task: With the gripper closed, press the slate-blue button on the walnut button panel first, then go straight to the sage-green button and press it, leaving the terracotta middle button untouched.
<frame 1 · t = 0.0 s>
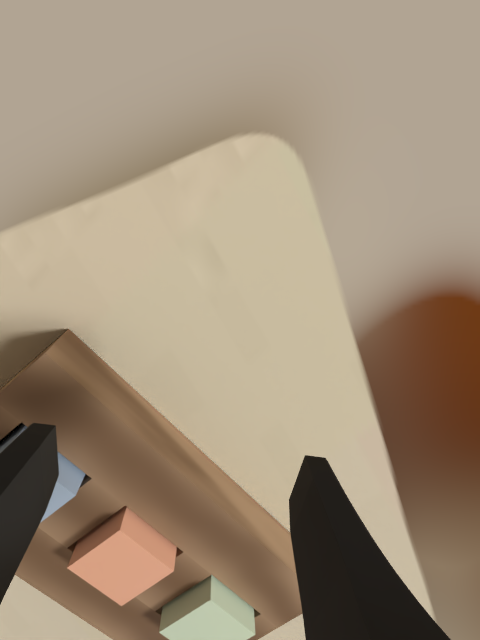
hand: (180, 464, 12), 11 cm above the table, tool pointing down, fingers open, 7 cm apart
button panel: (136, 508, 26), on the table
slate button: (27, 475, 21), point 3 cm above the table, slide at 0.0 cm
sage button: (208, 612, 25), point 3 cm above the table, slide at 0.0 cm
terracotta button: (125, 550, 23), point 3 cm above the table, slide at 0.0 cm
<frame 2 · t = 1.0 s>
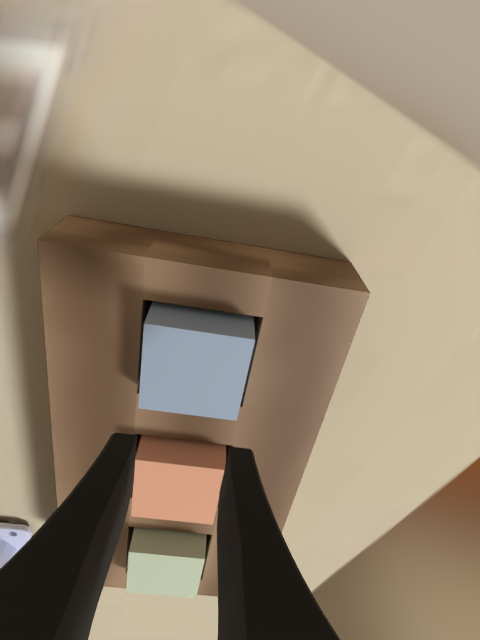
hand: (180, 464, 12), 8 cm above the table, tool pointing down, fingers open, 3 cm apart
button panel: (186, 428, 23), on the table
slate button: (196, 357, 17), point 3 cm above the table, slide at 0.0 cm
sage button: (167, 554, 24), point 3 cm above the table, slide at 0.0 cm
terracotta button: (179, 472, 20), point 3 cm above the table, slide at 0.0 cm
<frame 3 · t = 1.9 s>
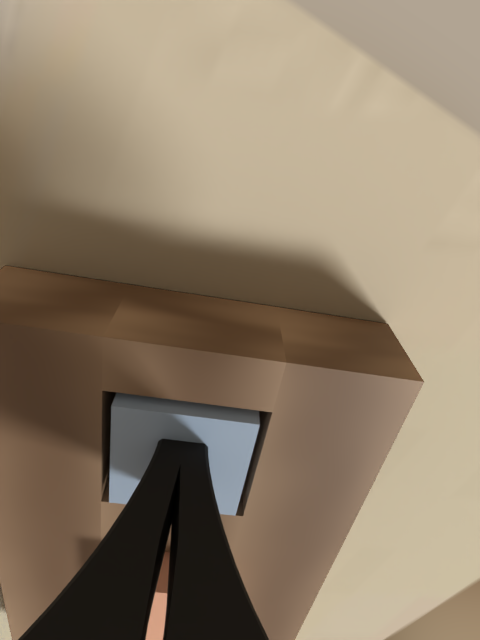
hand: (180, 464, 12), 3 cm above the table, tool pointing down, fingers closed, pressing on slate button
button panel: (172, 514, 18), on the table
slate button: (184, 435, 13), point 2 cm above the table, slide at 1.0 cm, touching gripper
terracotta button: (161, 586, 16), point 3 cm above the table, slide at 0.0 cm
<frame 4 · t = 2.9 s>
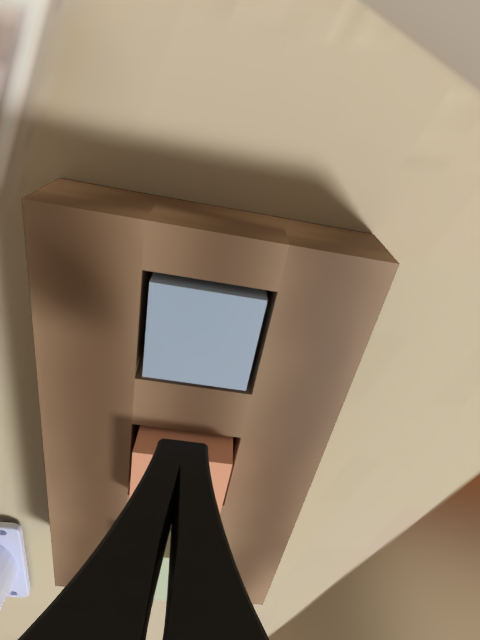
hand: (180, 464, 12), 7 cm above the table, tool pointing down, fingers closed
button panel: (188, 419, 21), on the table
slate button: (203, 323, 16), point 2 cm above the table, slide at 1.0 cm
sage button: (167, 556, 22), point 3 cm above the table, slide at 0.0 cm
terracotta button: (181, 467, 18), point 3 cm above the table, slide at 0.0 cm
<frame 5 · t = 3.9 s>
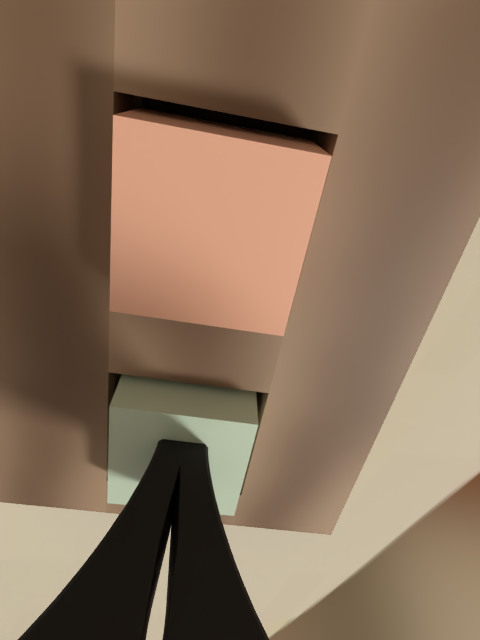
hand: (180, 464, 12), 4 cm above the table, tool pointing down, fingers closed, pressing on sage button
button panel: (217, 193, 12), on the table
sage button: (182, 436, 13), point 3 cm above the table, slide at 0.2 cm, touching gripper
terracotta button: (212, 223, 9), point 3 cm above the table, slide at 0.0 cm
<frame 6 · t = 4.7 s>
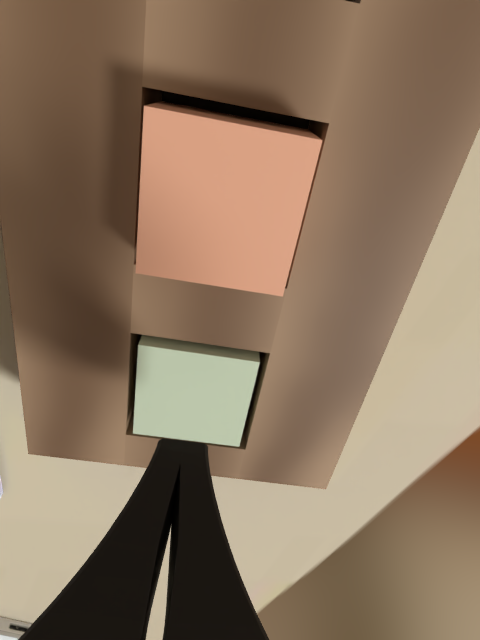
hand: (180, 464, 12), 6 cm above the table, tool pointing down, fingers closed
button panel: (226, 177, 14), on the table
sage button: (196, 378, 15), point 2 cm above the table, slide at 1.0 cm
terracotta button: (223, 199, 11), point 3 cm above the table, slide at 0.0 cm
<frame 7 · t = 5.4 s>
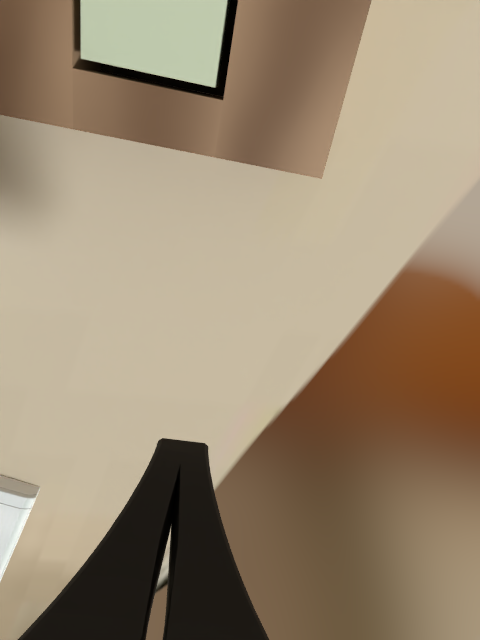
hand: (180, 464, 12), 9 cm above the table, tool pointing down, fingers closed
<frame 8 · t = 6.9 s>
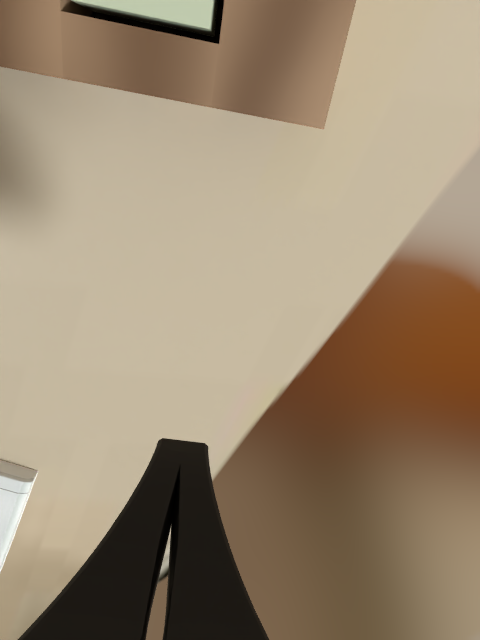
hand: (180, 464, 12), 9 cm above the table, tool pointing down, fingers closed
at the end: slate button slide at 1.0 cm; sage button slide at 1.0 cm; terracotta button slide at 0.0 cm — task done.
